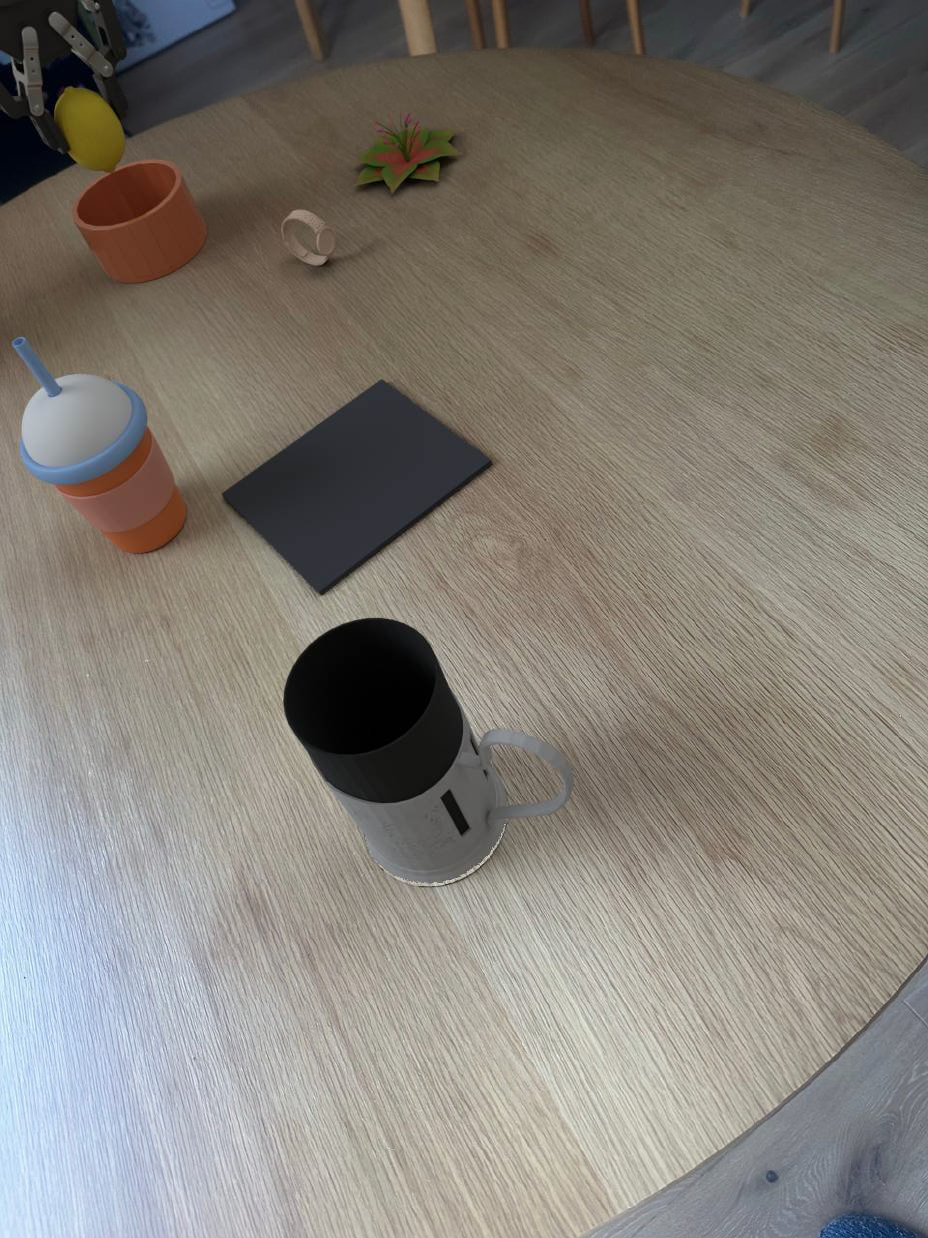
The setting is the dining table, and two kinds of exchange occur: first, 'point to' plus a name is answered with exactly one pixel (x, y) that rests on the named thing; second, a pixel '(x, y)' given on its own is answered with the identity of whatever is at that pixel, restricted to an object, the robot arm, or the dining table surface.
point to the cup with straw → (100, 456)
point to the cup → (140, 221)
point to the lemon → (90, 129)
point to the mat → (354, 484)
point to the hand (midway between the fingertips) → (91, 132)
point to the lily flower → (405, 154)
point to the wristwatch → (324, 238)
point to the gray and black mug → (405, 750)
